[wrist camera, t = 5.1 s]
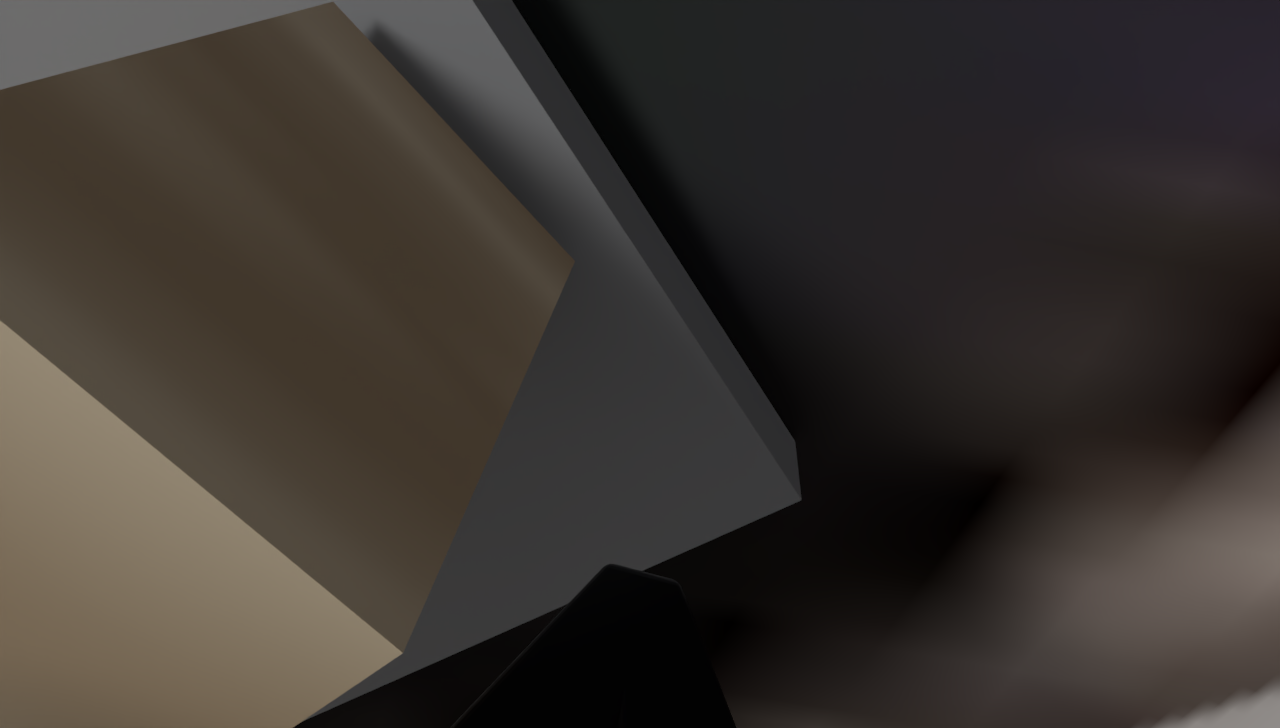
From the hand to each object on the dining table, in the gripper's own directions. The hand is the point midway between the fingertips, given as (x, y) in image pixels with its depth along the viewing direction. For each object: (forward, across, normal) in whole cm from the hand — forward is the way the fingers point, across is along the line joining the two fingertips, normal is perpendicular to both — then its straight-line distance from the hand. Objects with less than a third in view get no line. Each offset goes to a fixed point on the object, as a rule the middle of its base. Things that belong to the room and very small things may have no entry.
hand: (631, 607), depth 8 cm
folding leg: (+2, +7, +3) cm, 8 cm away
